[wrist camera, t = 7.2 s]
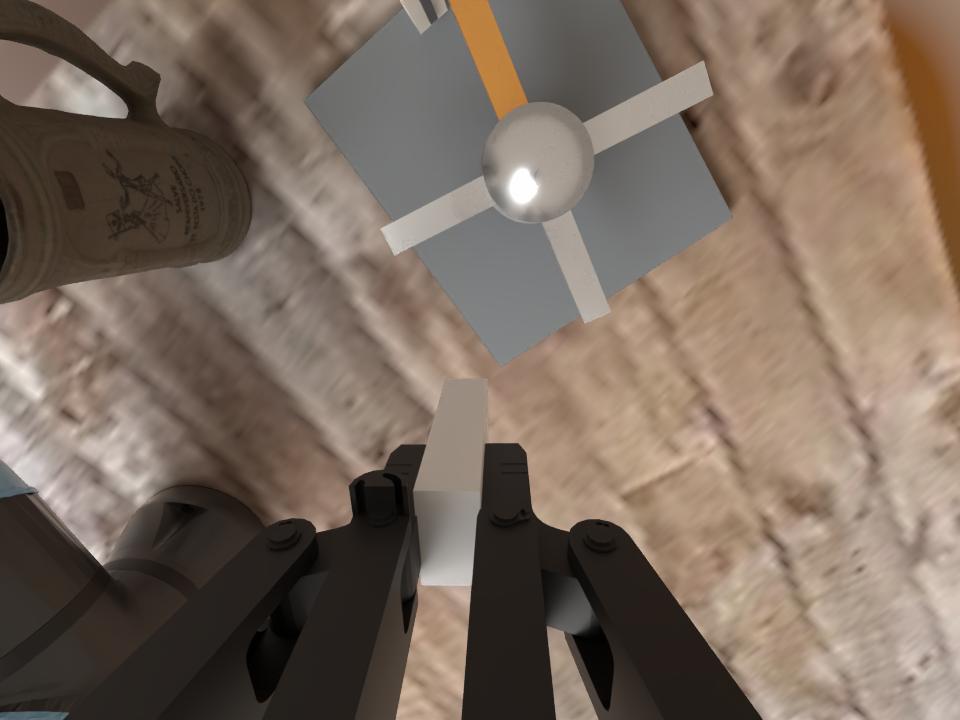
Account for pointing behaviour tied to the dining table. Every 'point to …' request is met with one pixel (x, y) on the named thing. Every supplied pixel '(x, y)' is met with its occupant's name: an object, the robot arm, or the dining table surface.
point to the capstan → (541, 156)
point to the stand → (461, 142)
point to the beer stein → (105, 177)
